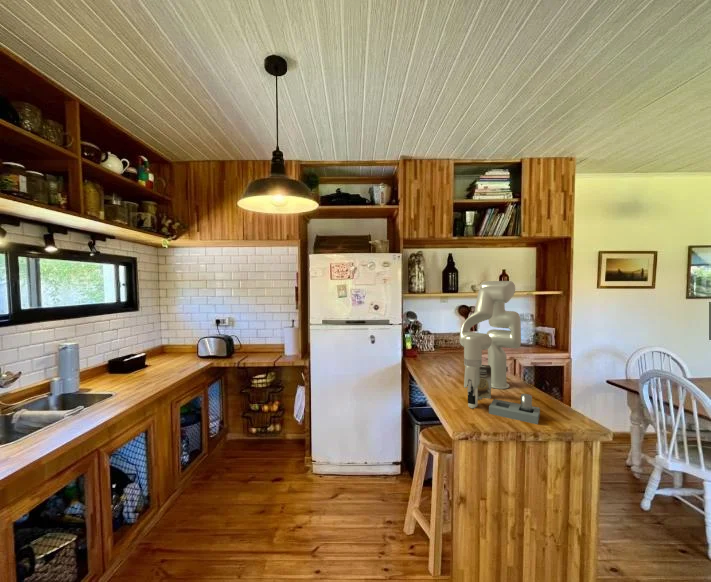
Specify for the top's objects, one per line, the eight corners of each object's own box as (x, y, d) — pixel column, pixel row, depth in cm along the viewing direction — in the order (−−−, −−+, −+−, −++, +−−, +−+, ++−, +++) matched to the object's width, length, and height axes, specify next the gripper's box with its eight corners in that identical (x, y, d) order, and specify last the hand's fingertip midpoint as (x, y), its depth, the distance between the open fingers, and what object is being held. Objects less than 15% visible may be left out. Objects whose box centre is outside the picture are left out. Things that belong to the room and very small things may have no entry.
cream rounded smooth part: (469, 404, 141) (469, 385, 141) (478, 406, 139) (478, 386, 139) (467, 407, 138) (467, 387, 138) (476, 409, 136) (476, 389, 136)
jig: (494, 407, 138) (494, 398, 138) (539, 417, 128) (539, 407, 128) (488, 415, 129) (488, 406, 129) (537, 426, 119) (537, 416, 119)
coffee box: (471, 398, 150) (471, 366, 150) (470, 394, 156) (470, 363, 156) (491, 400, 147) (491, 367, 147) (490, 396, 153) (490, 364, 153)
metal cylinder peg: (521, 414, 129) (521, 393, 129) (532, 416, 127) (532, 394, 127) (520, 417, 126) (520, 395, 126) (531, 419, 123) (531, 397, 123)
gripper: (469, 357, 147) (469, 394, 147) (459, 365, 133) (459, 406, 134) (485, 359, 143) (485, 398, 143) (476, 367, 129) (476, 410, 129)
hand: (472, 401), depth 138 cm, fingers closed on cream rounded smooth part, 4 cm apart
